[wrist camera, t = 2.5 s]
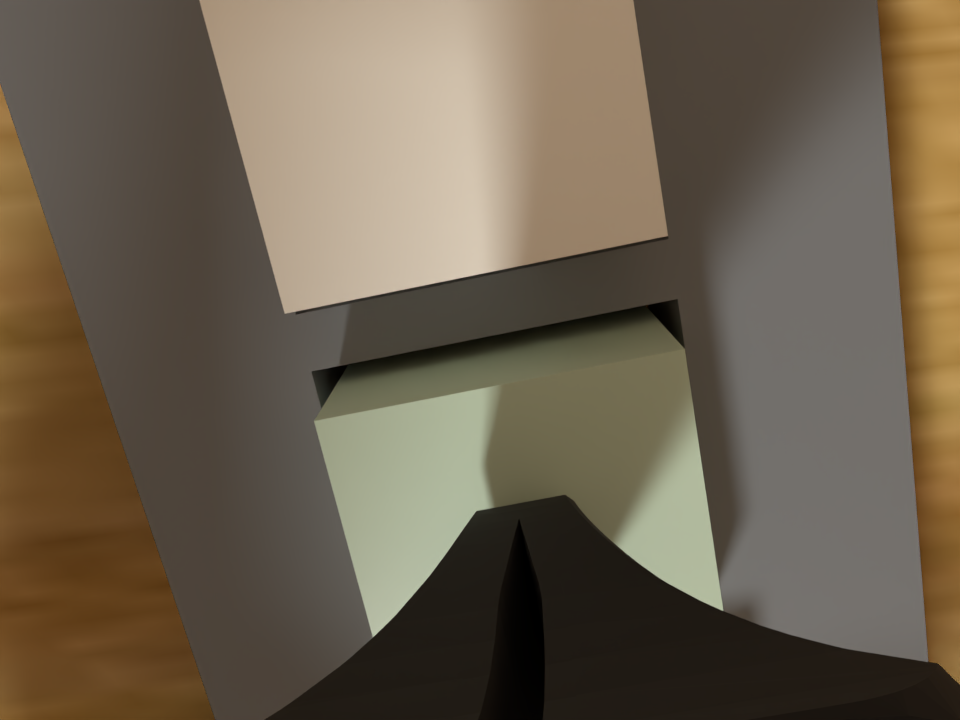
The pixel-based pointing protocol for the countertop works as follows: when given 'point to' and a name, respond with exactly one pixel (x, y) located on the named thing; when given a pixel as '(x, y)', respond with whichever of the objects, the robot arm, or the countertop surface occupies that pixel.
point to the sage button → (520, 449)
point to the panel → (490, 321)
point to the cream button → (435, 136)
